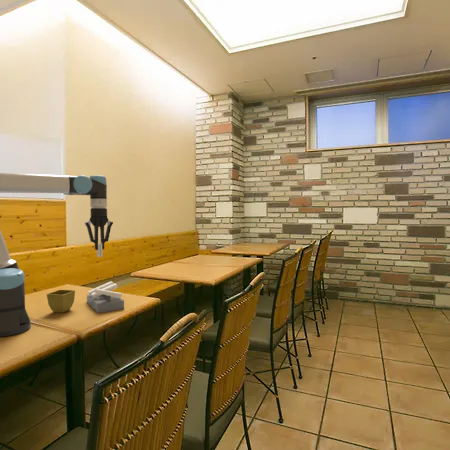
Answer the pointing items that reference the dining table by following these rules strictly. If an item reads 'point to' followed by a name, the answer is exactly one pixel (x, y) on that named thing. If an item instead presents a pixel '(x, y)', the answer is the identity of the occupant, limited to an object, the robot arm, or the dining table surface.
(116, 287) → the bar
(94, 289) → the bar
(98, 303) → the switch panel
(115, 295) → the bar
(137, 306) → the dining table surface
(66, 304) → the flower pot
